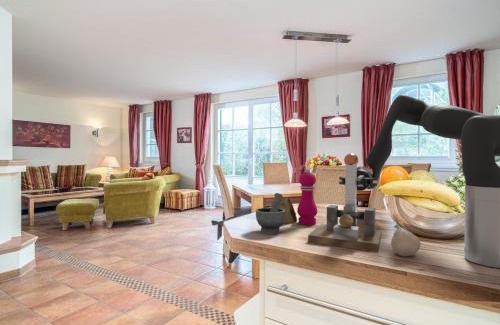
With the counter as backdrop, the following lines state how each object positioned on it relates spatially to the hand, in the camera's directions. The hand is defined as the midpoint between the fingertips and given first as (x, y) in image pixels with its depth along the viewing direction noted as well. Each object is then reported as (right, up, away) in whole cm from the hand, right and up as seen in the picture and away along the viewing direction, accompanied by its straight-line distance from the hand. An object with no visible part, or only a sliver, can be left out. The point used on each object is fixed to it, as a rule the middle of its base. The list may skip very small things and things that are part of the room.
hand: (354, 182), depth 91 cm
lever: (-4, -13, -7) cm, 16 cm away
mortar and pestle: (-26, -16, +2) cm, 31 cm away
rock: (-21, -16, +17) cm, 31 cm away
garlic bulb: (+5, -16, -21) cm, 27 cm away
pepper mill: (-12, -16, +14) cm, 25 cm away
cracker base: (-5, -16, -7) cm, 18 cm away
